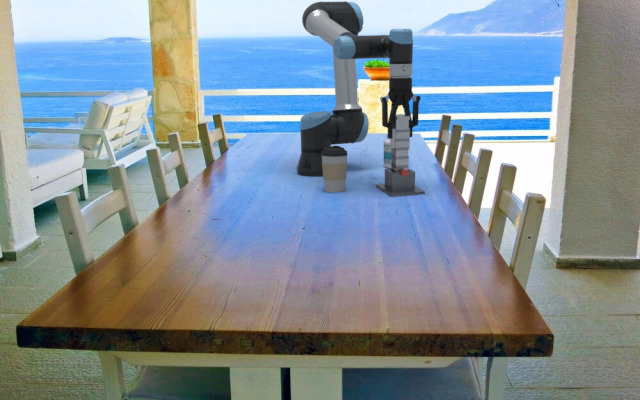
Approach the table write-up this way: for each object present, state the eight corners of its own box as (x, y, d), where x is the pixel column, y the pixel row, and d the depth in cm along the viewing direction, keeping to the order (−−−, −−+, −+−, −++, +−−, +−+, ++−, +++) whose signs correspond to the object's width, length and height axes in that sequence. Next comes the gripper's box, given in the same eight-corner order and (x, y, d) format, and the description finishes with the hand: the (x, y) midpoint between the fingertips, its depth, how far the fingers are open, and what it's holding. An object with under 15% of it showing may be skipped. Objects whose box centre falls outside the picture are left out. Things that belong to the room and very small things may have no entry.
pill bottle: (402, 165, 280) (402, 132, 277) (402, 168, 273) (402, 134, 270) (383, 165, 281) (383, 132, 278) (383, 168, 274) (383, 135, 270)
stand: (390, 196, 225) (390, 173, 224) (375, 186, 241) (375, 164, 239) (424, 194, 228) (425, 171, 226) (408, 184, 243) (408, 163, 241)
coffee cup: (345, 193, 231) (345, 149, 228) (319, 192, 233) (318, 149, 230) (349, 187, 240) (349, 145, 236) (324, 187, 242) (323, 144, 238)
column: (396, 180, 230) (397, 116, 225) (390, 176, 236) (390, 114, 231) (409, 179, 231) (409, 116, 226) (402, 175, 237) (403, 114, 232)
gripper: (378, 78, 220) (378, 150, 226) (430, 76, 224) (428, 147, 229) (371, 77, 227) (371, 147, 233) (421, 75, 231) (420, 144, 236)
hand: (399, 147), depth 231 cm, fingers closed on column, 4 cm apart
